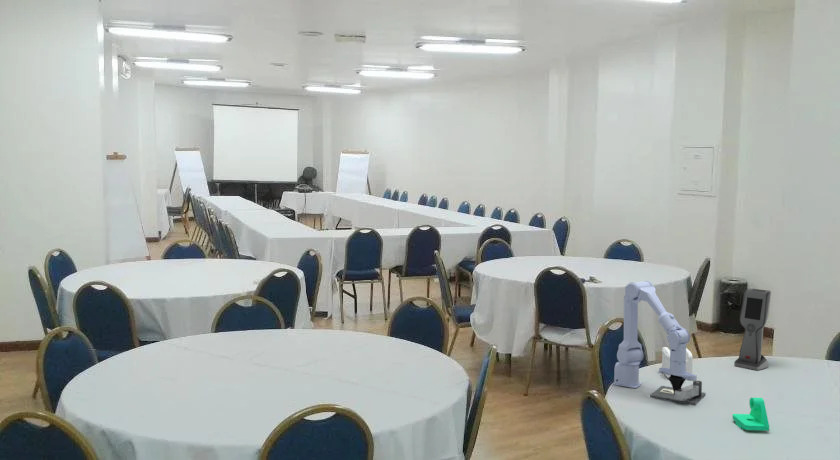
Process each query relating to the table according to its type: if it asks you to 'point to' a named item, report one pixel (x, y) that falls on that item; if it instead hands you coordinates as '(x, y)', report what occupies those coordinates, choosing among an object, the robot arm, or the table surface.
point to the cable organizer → (667, 360)
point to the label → (667, 391)
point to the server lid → (671, 397)
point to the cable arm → (689, 391)
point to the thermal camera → (753, 328)
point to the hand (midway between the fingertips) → (676, 395)
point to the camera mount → (753, 416)
